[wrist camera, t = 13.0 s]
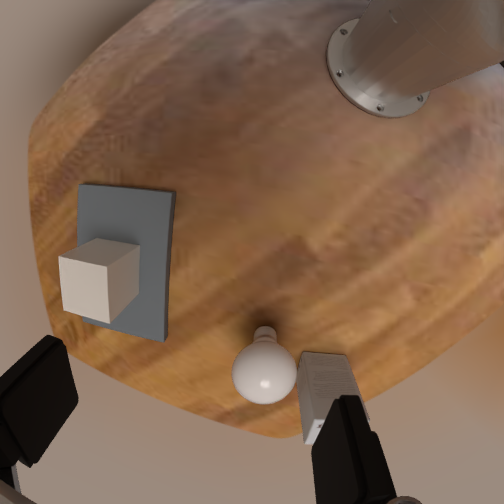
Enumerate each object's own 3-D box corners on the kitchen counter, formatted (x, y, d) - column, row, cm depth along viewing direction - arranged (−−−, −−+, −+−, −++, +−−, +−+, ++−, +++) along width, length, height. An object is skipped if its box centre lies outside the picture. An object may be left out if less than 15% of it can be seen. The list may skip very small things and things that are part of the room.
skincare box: (294, 375, 36) (301, 445, 25) (302, 350, 35) (313, 419, 24) (338, 379, 36) (356, 445, 25) (347, 354, 35) (371, 419, 24)
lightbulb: (229, 340, 35) (216, 401, 25) (255, 300, 34) (249, 355, 23) (274, 361, 36) (275, 424, 25) (301, 324, 34) (313, 383, 24)
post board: (85, 183, 31) (43, 189, 23) (176, 191, 31) (147, 199, 23) (88, 316, 36) (57, 345, 28) (167, 336, 36) (146, 373, 28)
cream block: (96, 238, 31) (58, 256, 24) (140, 245, 31) (107, 266, 24) (97, 283, 33) (63, 310, 25) (139, 293, 33) (109, 323, 25)
